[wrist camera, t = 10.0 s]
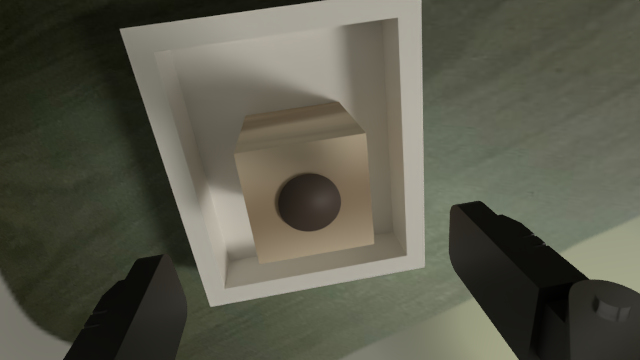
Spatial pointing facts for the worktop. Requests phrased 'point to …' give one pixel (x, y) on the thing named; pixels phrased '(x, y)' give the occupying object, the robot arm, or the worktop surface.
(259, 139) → the block
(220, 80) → the tray
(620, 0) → the worktop surface
